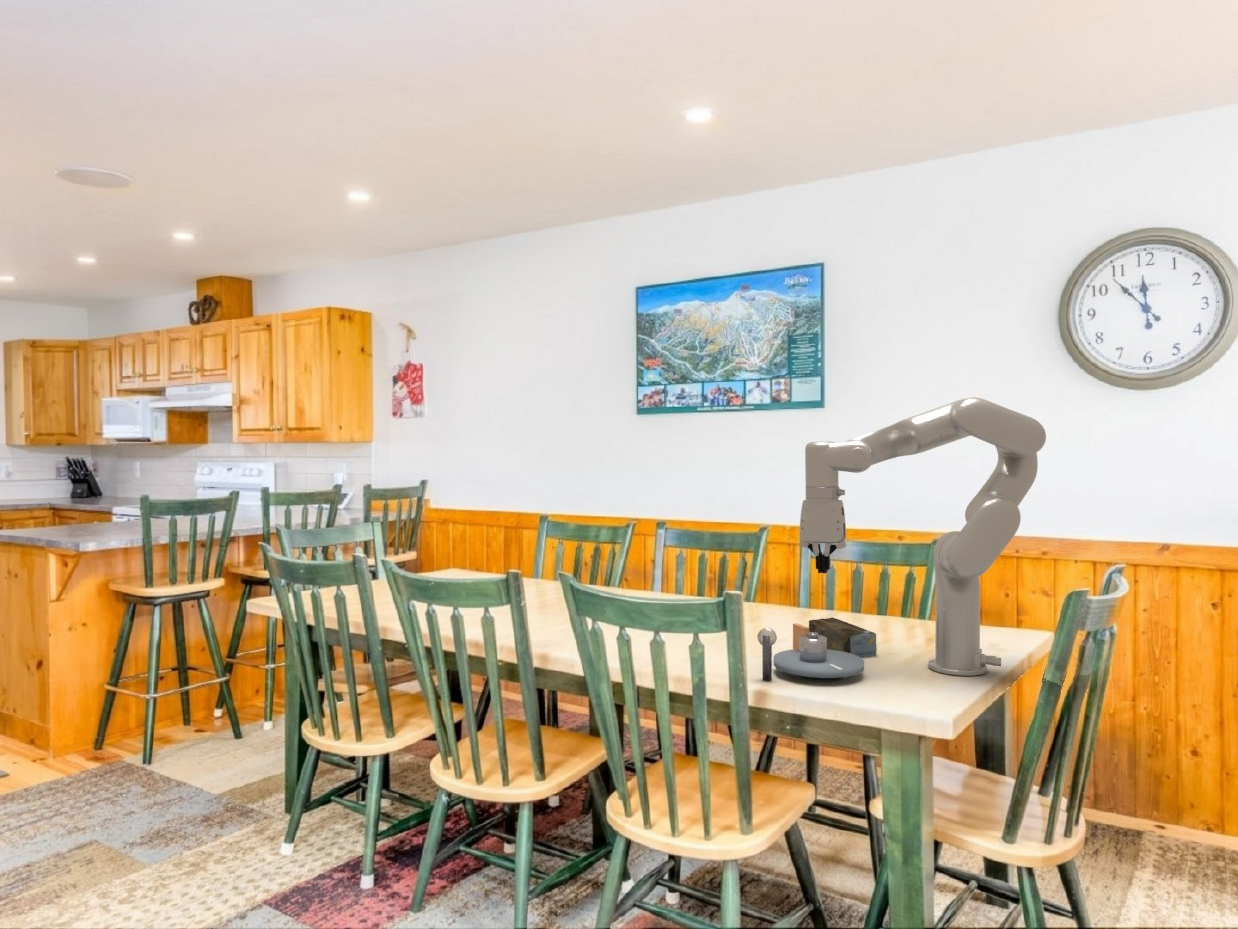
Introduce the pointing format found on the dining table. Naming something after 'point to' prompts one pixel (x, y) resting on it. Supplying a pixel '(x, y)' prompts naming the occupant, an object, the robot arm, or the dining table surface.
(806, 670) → the turntable
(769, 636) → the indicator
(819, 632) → the beverage carton
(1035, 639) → the dining table surface
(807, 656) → the cover
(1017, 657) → the dining table surface
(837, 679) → the pedestal
